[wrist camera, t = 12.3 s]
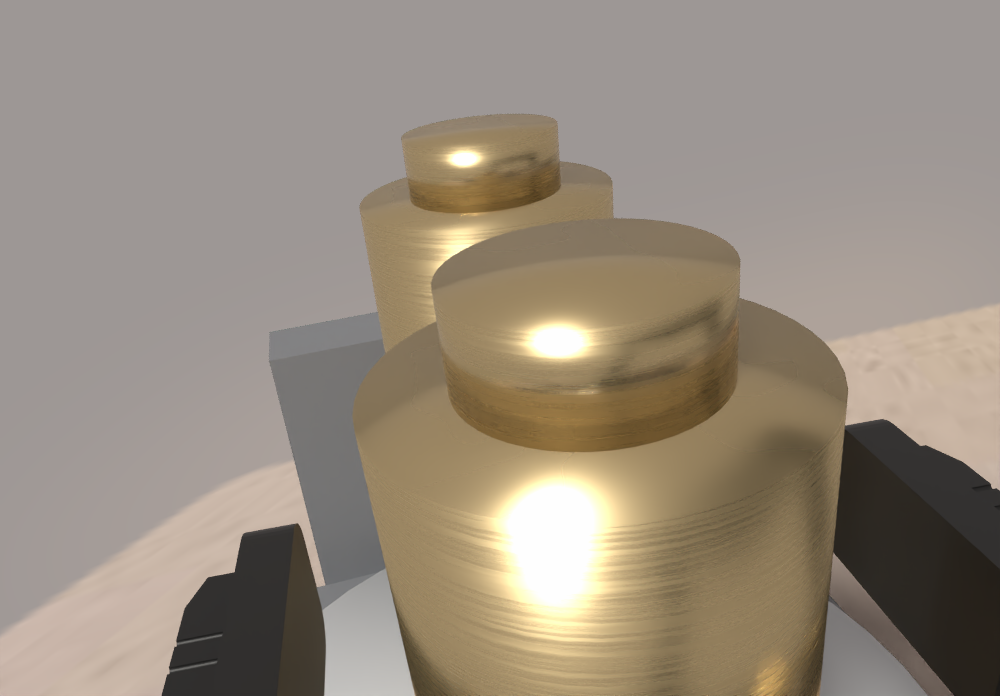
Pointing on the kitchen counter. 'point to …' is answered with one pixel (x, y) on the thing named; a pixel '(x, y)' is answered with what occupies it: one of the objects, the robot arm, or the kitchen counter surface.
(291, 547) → the robot arm
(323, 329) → the scale
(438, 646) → the weight
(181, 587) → the kitchen counter surface
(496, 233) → the weight
